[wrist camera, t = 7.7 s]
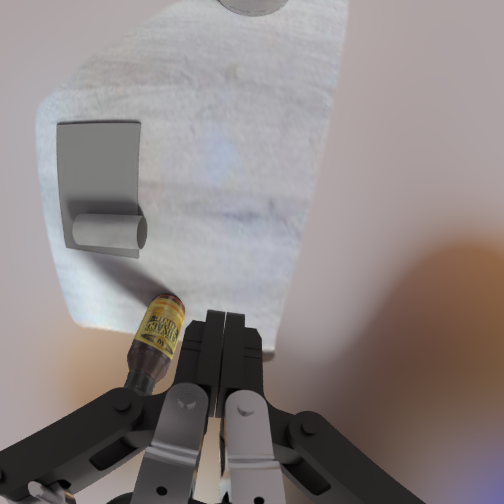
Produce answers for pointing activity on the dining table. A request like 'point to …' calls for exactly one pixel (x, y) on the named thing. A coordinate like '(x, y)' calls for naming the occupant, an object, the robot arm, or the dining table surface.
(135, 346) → the sauce bottle
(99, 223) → the grey hollow cylinder
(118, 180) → the mat
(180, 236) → the dining table surface
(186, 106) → the dining table surface
